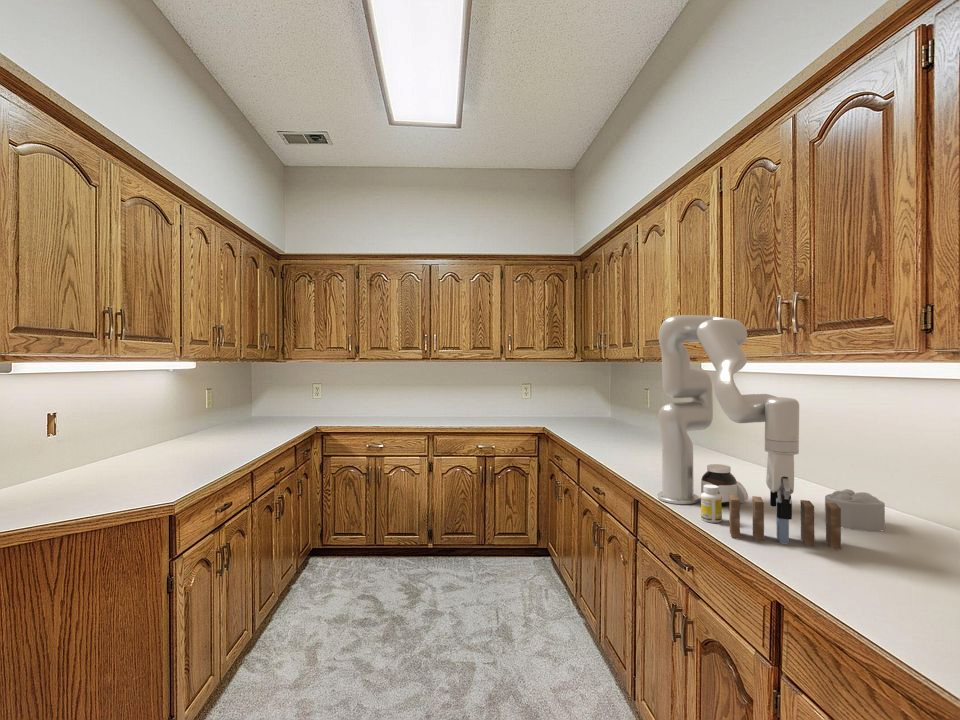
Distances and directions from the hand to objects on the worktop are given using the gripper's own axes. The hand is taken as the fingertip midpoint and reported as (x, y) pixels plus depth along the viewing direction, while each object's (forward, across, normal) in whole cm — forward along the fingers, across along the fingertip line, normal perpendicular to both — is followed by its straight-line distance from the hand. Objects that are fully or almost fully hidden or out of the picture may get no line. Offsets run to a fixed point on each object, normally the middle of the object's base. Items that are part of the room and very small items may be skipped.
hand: (780, 512), depth 132 cm
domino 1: (+7, 0, -11) cm, 13 cm away
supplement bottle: (+7, -10, -16) cm, 20 cm away
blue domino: (+7, 0, 0) cm, 7 cm away
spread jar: (+8, -30, -11) cm, 33 cm away
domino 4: (+7, 0, +11) cm, 13 cm away
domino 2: (+7, 0, -5) cm, 9 cm away
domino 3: (+7, 0, +6) cm, 9 cm away
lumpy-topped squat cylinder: (+7, -19, +21) cm, 29 cm away
